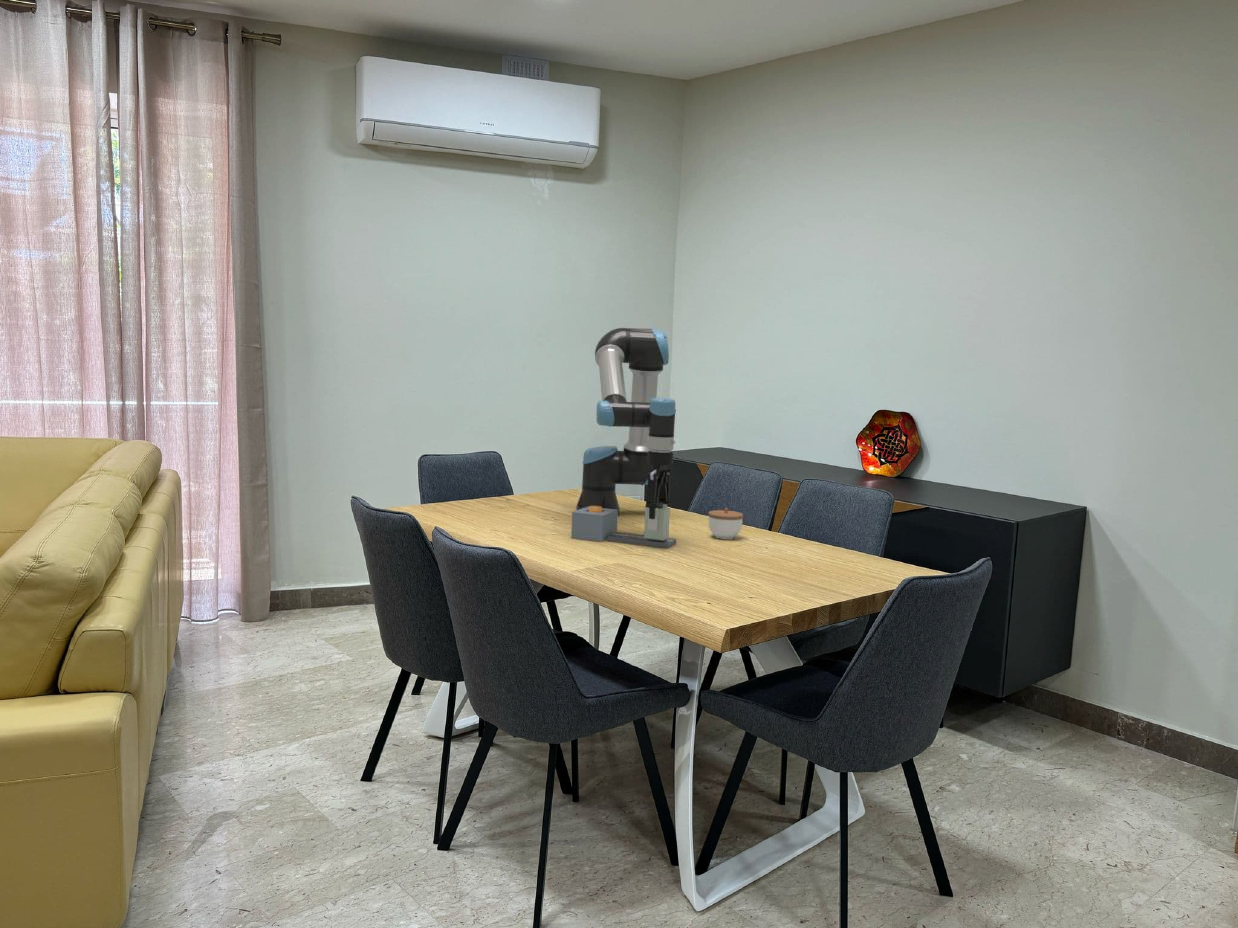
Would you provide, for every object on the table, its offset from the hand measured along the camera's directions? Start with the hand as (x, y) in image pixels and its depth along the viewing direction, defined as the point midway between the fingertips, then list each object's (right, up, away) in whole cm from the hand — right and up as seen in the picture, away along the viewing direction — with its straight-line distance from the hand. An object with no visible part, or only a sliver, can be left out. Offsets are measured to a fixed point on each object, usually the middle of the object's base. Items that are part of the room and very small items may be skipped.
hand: (656, 527), depth 279 cm
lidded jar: (+22, -4, +16) cm, 27 cm away
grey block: (-19, -3, +8) cm, 21 cm away
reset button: (-19, 0, +8) cm, 20 cm away
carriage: (0, -3, 0) cm, 3 cm away
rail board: (-4, -5, +2) cm, 7 cm away
